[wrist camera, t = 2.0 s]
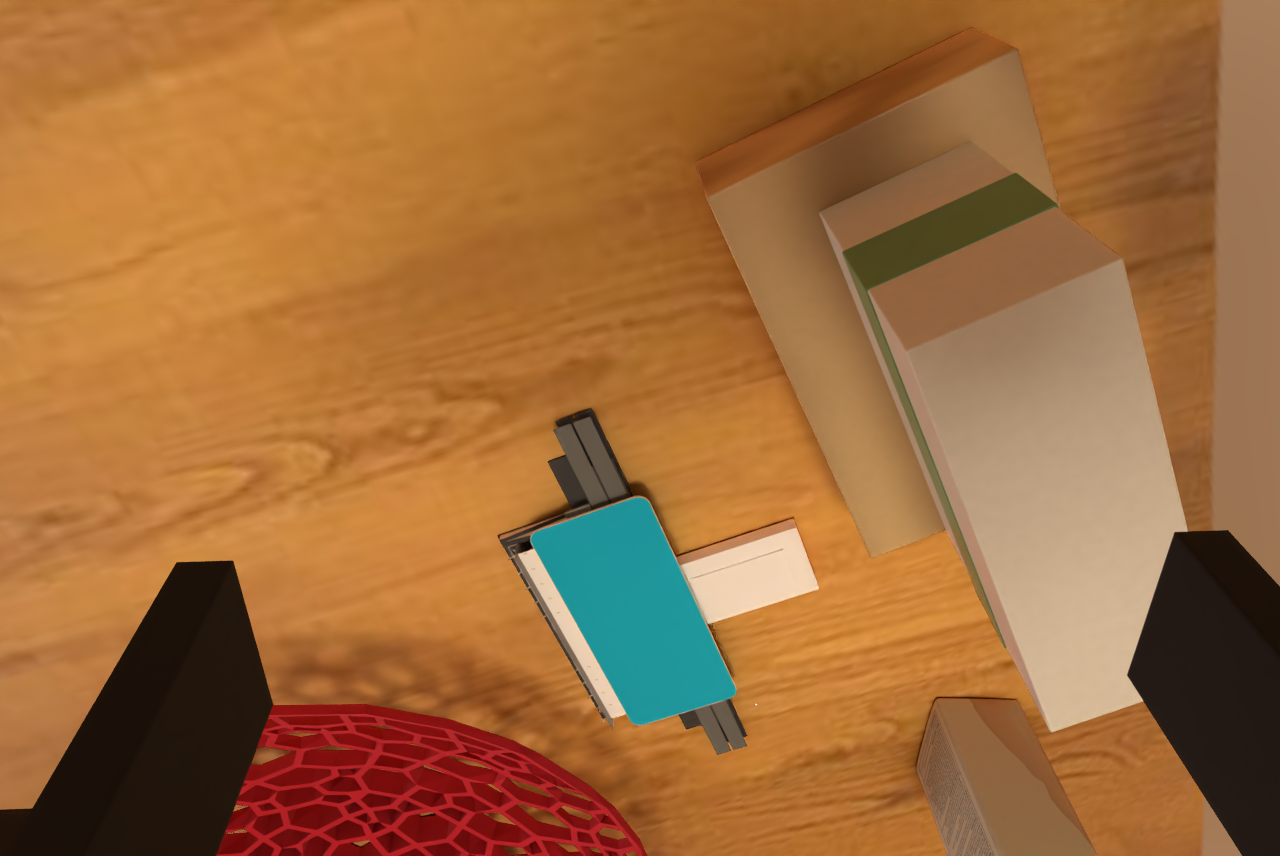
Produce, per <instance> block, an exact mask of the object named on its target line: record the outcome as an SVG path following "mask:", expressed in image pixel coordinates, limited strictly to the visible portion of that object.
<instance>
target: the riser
mask: <svg viewBox="0 0 1280 856" xmlns="http://www.w3.org/2000/svg"><path fill="white" fill-rule="evenodd" d="M968 142H973V143H974V144H976V145H977V146H978V147H979V148H981V149H982V150H983V151H985V152H986V153H987V154H988V155H990V156H991V157H992V158H994V159H995V160H996V161H998V162H999V163H1000V164H1001V165H1003V166H1004V167H1005V168H1007V169H1008V170H1009V171H1010V172H1012V173H1013V174H1014V173H1018V174H1019V175H1020V176H1022V177H1023V178H1024V179H1026V180H1027V181H1028V182H1029V183H1031V184H1032V185H1033V186H1035V187H1036V188H1037V189H1039V190H1040V191H1041V192H1043V193H1044V194H1045V195H1046V196H1048V197H1049V198H1050V199H1052V200H1053V201H1054V202H1056V203H1057V204H1058V207H1059V209H1060V210H1061V208H1060V205H1059V201H1058V197H1057V193H1056V190H1055V186H1054V182H1053V178H1052V174H1051V171H1050V167H1049V163H1048V159H1047V156H1046V152H1045V148H1044V144H1043V141H1042V137H1041V133H1040V129H1039V126H1038V122H1037V118H1036V114H1035V110H1034V107H1033V103H1032V99H1031V95H1030V92H1029V88H1028V84H1027V80H1026V77H1025V73H1024V69H1023V65H1022V62H1021V58H1020V54H1019V50H1018V49H1017V48H1016V47H1014V46H1012V45H1009V44H1007V43H1005V42H1003V41H1001V40H999V39H997V38H995V37H993V36H990V35H988V34H986V33H984V32H982V31H980V30H978V29H976V28H969V29H967V30H965V31H963V32H961V33H959V34H957V35H955V36H953V37H951V38H949V39H947V40H945V41H943V42H941V43H939V44H937V45H935V46H933V47H931V48H928V49H926V50H924V51H922V52H920V53H918V54H916V55H914V56H912V57H910V58H908V59H906V60H904V61H902V62H900V63H898V64H896V65H894V66H892V67H890V68H887V69H885V70H883V71H881V72H879V73H877V74H875V75H873V76H871V77H869V78H867V79H865V80H863V81H861V82H859V83H857V84H855V85H853V86H851V87H848V88H846V89H844V90H842V91H840V92H838V93H836V94H834V95H832V96H830V97H828V98H826V99H824V100H822V101H820V102H818V103H816V104H814V105H812V106H810V107H807V108H805V109H803V110H801V111H799V112H797V113H795V114H793V115H791V116H789V117H787V118H785V119H783V120H781V121H779V122H777V123H775V124H773V125H771V126H769V127H766V128H764V129H762V130H760V131H758V132H756V133H754V134H752V135H750V136H748V137H746V138H744V139H742V140H740V141H738V142H736V143H734V144H732V145H730V146H727V147H725V148H723V149H721V150H719V151H717V152H715V153H713V154H711V155H709V156H707V157H705V158H703V159H701V160H699V161H697V162H696V163H695V165H696V168H697V171H698V174H699V178H700V181H701V184H702V187H703V190H704V193H705V196H706V199H707V201H708V203H709V206H710V208H711V210H712V212H713V214H714V216H715V219H716V221H717V223H718V225H719V227H720V230H721V232H722V234H723V236H724V238H725V240H726V243H727V245H728V247H729V249H730V251H731V254H732V256H733V258H734V260H735V262H736V264H737V267H738V269H739V271H740V273H741V275H742V278H743V280H744V282H745V284H746V286H747V288H748V291H749V293H750V295H751V297H752V299H753V302H754V304H755V306H756V308H757V310H758V312H759V315H760V317H761V319H762V321H763V323H764V326H765V328H766V330H767V332H768V334H769V336H770V339H771V341H772V343H773V345H774V347H775V350H776V352H777V354H778V356H779V358H780V360H781V363H782V365H783V367H784V369H785V371H786V374H787V376H788V378H789V380H790V382H791V384H792V387H793V389H794V391H795V393H796V395H797V398H798V400H799V402H800V404H801V406H802V408H803V411H804V413H805V415H806V417H807V419H808V422H809V424H810V426H811V428H812V430H813V432H814V435H815V437H816V439H817V441H818V443H819V446H820V448H821V450H822V452H823V454H824V456H825V459H826V461H827V463H828V465H829V467H830V470H831V472H832V474H833V476H834V478H835V480H836V483H837V485H838V487H839V489H840V491H841V494H842V496H843V498H844V500H845V502H846V504H847V507H848V509H849V511H850V513H851V515H852V518H853V520H854V522H855V524H856V526H857V528H858V531H859V533H860V535H861V537H862V539H863V542H864V544H865V546H866V548H867V550H868V552H869V555H870V557H871V558H875V557H877V556H880V555H882V554H885V553H888V552H890V551H893V550H895V549H898V548H900V547H903V546H906V545H908V544H911V543H913V542H916V541H918V540H921V539H924V538H926V537H929V536H931V535H934V534H936V533H939V532H941V531H944V530H946V529H945V527H944V524H943V522H942V519H941V517H940V514H939V512H938V509H937V507H936V504H935V502H934V499H933V497H932V494H931V492H930V489H929V487H928V484H927V482H926V479H925V477H924V474H923V472H922V469H921V467H920V464H919V462H918V459H917V457H916V454H915V452H914V449H913V447H912V444H911V442H910V439H909V437H908V434H907V432H906V429H905V427H904V424H903V422H902V419H901V417H900V414H899V412H898V409H897V407H896V404H895V402H894V399H893V397H892V394H891V392H890V389H889V387H888V384H887V382H886V379H885V377H884V374H883V372H882V369H881V367H880V364H879V362H878V359H877V357H876V354H875V352H874V349H873V347H872V344H871V342H870V339H869V337H868V334H867V332H866V329H865V327H864V324H863V322H862V319H861V317H860V314H859V312H858V309H857V307H856V304H855V302H854V299H853V297H852V294H851V292H850V289H849V287H848V284H847V282H846V279H845V277H844V274H843V272H842V269H841V267H840V264H839V262H838V259H837V257H836V254H835V252H834V249H833V247H832V244H831V242H830V239H829V237H828V234H827V232H826V229H825V227H824V224H823V222H822V219H821V217H820V214H819V212H820V211H822V210H824V209H826V208H828V207H831V206H833V205H835V204H837V203H839V202H841V201H843V200H846V199H848V198H850V197H852V196H854V195H856V194H859V193H861V192H863V191H865V190H867V189H869V188H871V187H874V186H876V185H878V184H880V183H882V182H884V181H886V180H889V179H891V178H893V177H895V176H897V175H899V174H902V173H904V172H906V171H908V170H910V169H912V168H914V167H917V166H919V165H921V164H923V163H925V162H927V161H930V160H932V159H934V158H936V157H938V156H940V155H942V154H945V153H947V152H949V151H951V150H953V149H955V148H957V147H960V146H962V145H964V144H966V143H968Z"/></svg>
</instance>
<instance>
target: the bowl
mask: <svg viewBox="0 0 1280 856" xmlns="http://www.w3.org/2000/svg"><path fill="white" fill-rule="evenodd" d="M268 718H270V719H268V720H267V722H266V725H265V728H264V730H263V733H262V734H263V735H262V736H261V738H260V741H259V744H258V746H257V747H262V746H267V747H273V748H279V749H285V750H291V751H295V752H292V753H290V754H287V755H285V756H282V757H279V758H277V759H274V760H272V761H269V762H267V763H264V764H262V765H250V768H249V770H248V773H247V775H246V778H245V781H244V783H243V786H242V789H241V791H240V794H239V797H238V799H237V802H236V805H244V806H249V807H246V808H243V809H240V810H237V811H234V812H233V813H232V815H231V818H230V821H229V823H228V826H227V829H226V831H225V834H224V837H223V839H222V842H221V845H220V847H219V850H218V853H217V855H216V856H627V855H626V854H625V853H628V852H633V851H636V853H637V855H638V856H647V854H646V852H645V849H644V847H643V845H642V843H641V841H640V839H639V837H638V836H637V835H636V833H635V832H634V831H633V830H632V828H631V827H630V826H629V825H628V823H627V822H626V821H625V820H624V818H623V817H622V816H621V815H620V813H619V812H618V811H617V810H616V808H615V807H614V806H613V805H612V804H611V803H609V802H608V801H607V800H606V799H605V798H603V797H602V796H601V795H600V794H599V793H598V792H596V791H595V790H594V789H593V788H592V787H590V786H589V785H588V784H587V783H585V782H583V781H582V780H580V779H579V778H577V777H576V776H574V775H572V774H571V773H569V772H568V771H566V770H565V769H563V768H561V767H560V766H558V765H557V764H555V763H554V762H552V761H551V760H549V759H547V758H546V757H544V756H543V755H541V754H539V753H537V752H535V751H533V750H531V749H529V748H527V747H525V746H523V745H521V744H519V743H517V742H515V741H513V740H510V739H507V738H504V737H501V736H498V735H495V734H492V733H489V732H486V731H483V730H480V729H477V728H474V727H471V726H468V725H465V724H462V723H459V722H456V721H453V720H450V719H446V718H440V717H434V716H429V715H423V714H418V713H412V712H406V711H401V710H395V709H389V708H384V707H378V706H373V705H367V704H342V705H273V706H272V709H271V712H270V714H269V717H268ZM371 725H382V726H385V727H388V728H392V729H380V728H377V727H374V726H371ZM295 732H301V733H317V734H316V735H309V736H303V737H298V736H292V735H286V734H288V733H295ZM410 744H417V745H420V746H423V747H425V748H423V747H419V746H414V745H410ZM330 745H332V746H338V747H343V748H349V749H354V750H313V749H317V748H321V747H326V746H330ZM448 755H449V756H453V757H458V758H462V759H466V760H470V761H475V762H479V763H481V764H483V765H485V766H487V767H489V768H490V769H487V768H482V767H476V766H471V765H467V764H464V763H462V762H459V761H457V760H455V759H452V758H450V757H447V756H448ZM423 765H426V766H429V767H431V768H434V769H436V770H439V771H441V772H444V773H446V774H444V773H441V772H438V771H434V770H431V769H428V768H424V767H423ZM374 768H375V769H374ZM380 769H383V770H380ZM386 770H391V771H386ZM392 771H399V772H403V773H398V772H392ZM448 774H449V775H448ZM507 777H508V778H511V779H514V780H517V781H520V782H523V783H526V784H530V785H533V786H536V787H539V788H541V789H542V790H544V791H545V792H546V793H548V794H549V795H551V796H552V797H546V796H543V795H540V794H537V793H534V792H531V791H528V790H525V789H522V788H519V787H518V786H517V785H515V784H514V783H513V782H512V781H511V780H510V779H508V778H507ZM487 784H493V785H494V786H495V787H497V788H498V789H499V790H501V791H502V792H501V793H500V792H499V791H497V790H495V789H493V788H492V787H490V786H488V785H487ZM556 786H559V787H562V788H565V789H568V790H570V791H573V792H576V793H579V794H582V795H584V796H586V797H587V798H589V799H590V800H591V801H587V800H584V799H581V798H579V797H576V796H573V795H570V794H567V793H564V792H563V791H561V790H560V789H559V788H557V787H556ZM518 803H520V804H523V805H527V806H531V807H535V808H538V809H542V810H546V811H550V812H551V813H552V814H553V815H555V816H556V817H557V818H558V819H560V820H561V821H562V822H563V823H564V824H566V825H567V826H568V827H569V828H570V829H567V828H563V827H559V826H555V825H551V824H546V823H542V822H538V821H537V820H536V819H534V818H533V817H532V816H530V815H529V814H528V813H527V812H525V811H524V810H523V809H521V808H520V807H519V806H518V805H517V804H518ZM563 805H565V806H568V807H571V808H574V809H577V810H580V811H583V812H586V813H589V814H590V815H591V816H593V817H594V818H592V819H591V820H590V821H589V820H586V819H582V818H579V817H576V816H573V815H570V814H569V813H567V812H566V811H565V810H564V809H563V808H561V807H562V806H563ZM426 812H433V813H435V814H437V815H434V816H427V817H420V816H419V815H418V814H420V813H426ZM484 813H501V814H502V815H503V816H505V817H506V818H508V819H509V820H510V821H512V822H513V823H514V824H516V825H512V824H507V823H502V822H497V821H495V820H494V819H492V818H490V817H489V816H487V815H485V814H484ZM604 814H607V815H608V816H606V815H604ZM603 827H608V828H612V829H616V830H620V831H622V832H623V834H624V835H625V836H626V837H627V838H624V839H620V840H616V839H613V838H609V837H606V836H602V835H601V834H600V833H599V832H598V831H599V830H601V829H602V828H603ZM241 829H245V830H246V831H248V832H246V833H235V834H227V833H228V832H233V831H237V830H241ZM364 840H369V841H370V843H369V844H367V845H365V846H364V847H362V848H360V847H357V846H355V845H353V844H350V843H352V842H358V841H364ZM555 842H557V843H564V844H571V845H574V846H575V847H576V848H577V849H578V850H579V851H580V852H568V851H567V850H565V849H564V848H562V847H561V846H559V845H558V844H556V843H555ZM501 845H505V846H513V847H520V848H523V849H524V851H525V852H526V853H527V854H517V855H508V854H507V853H506V852H505V850H504V849H503V848H502V846H501ZM589 847H595V848H598V849H599V850H600V851H601V853H597V852H593V851H592V850H591V849H590V848H589Z"/></svg>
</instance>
